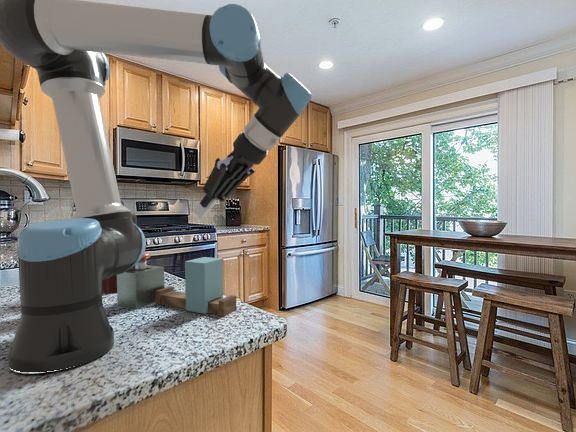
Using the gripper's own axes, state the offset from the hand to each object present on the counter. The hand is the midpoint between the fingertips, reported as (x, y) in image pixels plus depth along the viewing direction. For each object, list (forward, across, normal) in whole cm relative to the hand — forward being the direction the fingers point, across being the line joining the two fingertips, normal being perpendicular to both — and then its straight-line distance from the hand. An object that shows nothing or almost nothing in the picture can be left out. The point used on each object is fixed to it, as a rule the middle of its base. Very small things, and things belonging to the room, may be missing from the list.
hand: (198, 214), depth 78 cm
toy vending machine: (+43, +4, +10) cm, 45 cm away
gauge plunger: (+25, -3, 0) cm, 25 cm away
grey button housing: (+29, -3, -4) cm, 30 cm away
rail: (+18, +1, -15) cm, 24 cm away
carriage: (+16, +1, -17) cm, 24 cm away
